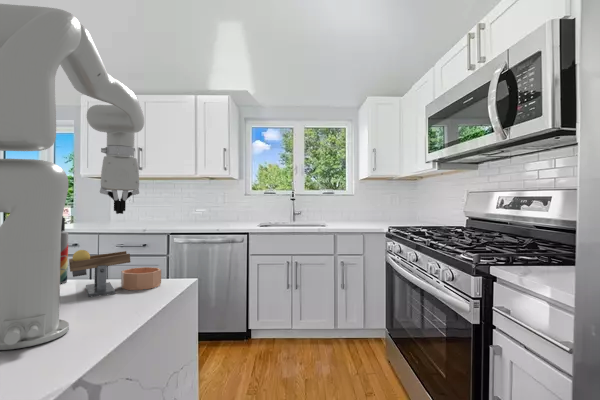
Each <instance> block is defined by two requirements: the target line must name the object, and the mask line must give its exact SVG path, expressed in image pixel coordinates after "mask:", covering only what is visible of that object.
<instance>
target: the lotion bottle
mask: <svg viewBox="0 0 600 400" xmlns="http://www.w3.org/2000/svg"><path fill="white" fill-rule="evenodd" d="M65 229H66V218H65V217H64V215H63V216H62V225H61V257H60V285H62V284H61V283H63V284H66V283H67V282H68V274H69V273H68V272H69V271H68V270H69V269H68V267H69V232H68V231H65ZM65 282H66V283H65Z"/></svg>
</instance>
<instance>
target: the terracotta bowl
mask: <svg viewBox="0 0 600 400" xmlns="http://www.w3.org/2000/svg"><path fill="white" fill-rule="evenodd" d="M120 274H121V275H120V281H121V282H120V284H121V287H120V288H121V289H122V290H124V289H125V291H143V289H146V290H152V289H155V287H156V288H158V286H159V287H161V284H162V269H160V268H159V267H147V266H145V267H144V266H143V267H142V266H141V267H134V268H133V267H132V268H128V269H123V270H121V273H120ZM151 288H152V289H151Z"/></svg>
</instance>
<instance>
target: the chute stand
mask: <svg viewBox="0 0 600 400" xmlns="http://www.w3.org/2000/svg"><path fill="white" fill-rule="evenodd" d="M107 267H108V266H107V265H98V268H94V283H91V284H85V289H86V293H87V297H88V298H92V297H91V296H93V297H100V296H99V295H101V296H108V295H107V294H110V295H115V294H116V289H115V288H114V287H113V285H112V284H111V282H110V281H107Z"/></svg>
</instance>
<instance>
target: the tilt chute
mask: <svg viewBox="0 0 600 400" xmlns="http://www.w3.org/2000/svg"><path fill="white" fill-rule="evenodd" d="M128 263H129V264H130V263H131V254H130V253H128V252H127V250H125V251H117V252H110V253H102V254H94V255H90V259H87V260H80V261H73V257H72V258H68V267H69V271H70V272H71V274H72V277H73V278H75V277H80V276H87V270H89V269H90V270H91V269H95V268H98V265H107V266H106V267H111V266H116V265H122V264H128Z"/></svg>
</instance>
